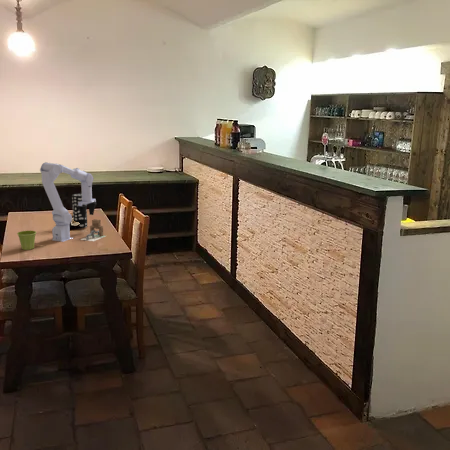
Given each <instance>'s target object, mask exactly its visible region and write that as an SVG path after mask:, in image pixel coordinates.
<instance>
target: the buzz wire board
mask: <svg viewBox="0 0 450 450" xmlns="http://www.w3.org/2000/svg"><path fill="white" fill-rule="evenodd" d="M94 234H97V235H99V230H95V229H94V230H92V231H91V233H90V232H89V233H88V234H86V236H85V237H84V238H80V240H81V241H87V242H88V241H89V242H96V241H98V240H100V239H102V238H103V239H104V237H102V238H101V237H94ZM90 235H92V236H90Z"/></svg>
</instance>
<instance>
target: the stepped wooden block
mask: <svg viewBox="0 0 450 450" xmlns="http://www.w3.org/2000/svg"><path fill="white" fill-rule="evenodd" d="M101 224H102V223H101V219H92V220H91V225H90V226H89V229H90V231H89V234H90V233H91V231H92V230H95V229H97V230H98V231H99V237H101V236H103V235H104V225H101ZM91 236H92V235H91Z"/></svg>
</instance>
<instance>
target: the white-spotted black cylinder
mask: <svg viewBox="0 0 450 450" xmlns="http://www.w3.org/2000/svg"><path fill="white" fill-rule="evenodd" d="M71 200H72V201H71V202H72V203H71V204H72V220H74V221H76V222H79V223H80V225H79V226H80V227H82V228H81V229H85V228H87V227H88V209H87V210H86V217H82V215H81V212H80V210H79V208H78V202H81V201H82V193H74V194H72V195H71ZM85 206H87V207H88V204H85Z"/></svg>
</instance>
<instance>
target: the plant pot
mask: <svg viewBox="0 0 450 450" xmlns="http://www.w3.org/2000/svg"><path fill="white" fill-rule="evenodd" d="M16 234H17V236H18V239H19V242H20V246H21V249H22V250H24V251H30V250H34V249H35V242H36V241H35V240H36V236H37V235H36V234H37V231H36V230H23V231H22V230H21V231H19V232H17V233H16Z"/></svg>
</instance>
